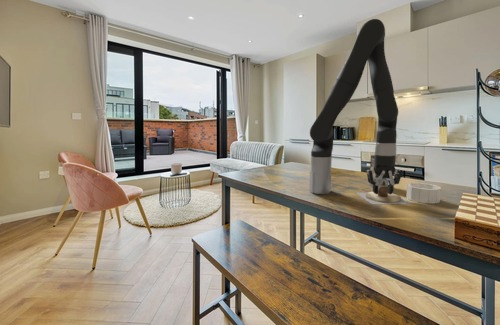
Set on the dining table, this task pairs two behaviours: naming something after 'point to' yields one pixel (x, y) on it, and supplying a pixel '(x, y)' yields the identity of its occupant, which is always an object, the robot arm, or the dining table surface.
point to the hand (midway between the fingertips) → (382, 193)
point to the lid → (383, 195)
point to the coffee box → (372, 165)
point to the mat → (383, 202)
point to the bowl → (423, 193)
